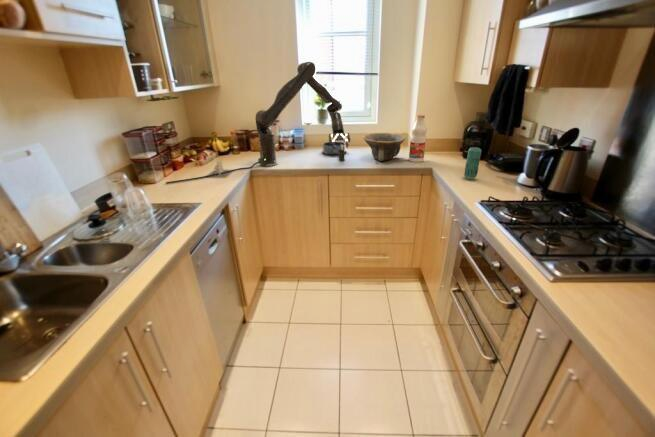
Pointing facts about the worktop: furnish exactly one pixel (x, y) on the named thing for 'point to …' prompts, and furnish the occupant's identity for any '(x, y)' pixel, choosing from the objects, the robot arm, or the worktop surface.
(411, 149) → the fruit juice
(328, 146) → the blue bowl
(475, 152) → the beverage bottle
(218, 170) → the architectural model
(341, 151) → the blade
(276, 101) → the robot arm
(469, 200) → the worktop surface
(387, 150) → the bowl
